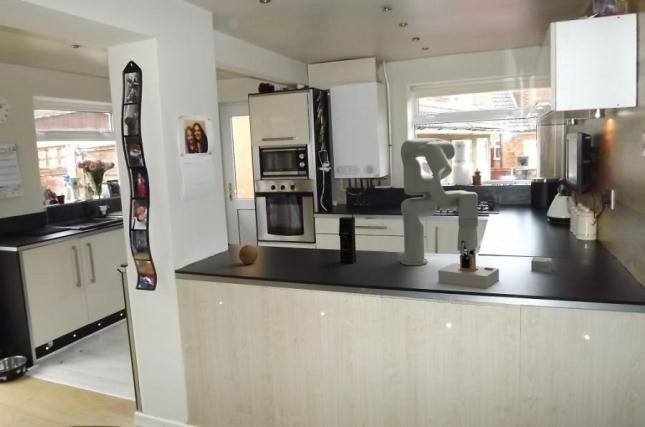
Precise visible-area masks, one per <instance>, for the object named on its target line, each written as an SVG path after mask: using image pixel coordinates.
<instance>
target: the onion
mask: <svg viewBox="0 0 645 427" xmlns="http://www.w3.org/2000/svg"><path fill="white" fill-rule="evenodd" d="M258 256H259V253H258V250H257V248H256V247H255V246H254V245H252V244H251V245H250V244H245V245H244V246H242V247H240V250H239V253H238V257H239V260H240V261H241V263H243V264H245V265H251V264H253V263H255V262H256V261H257V259H258Z"/></svg>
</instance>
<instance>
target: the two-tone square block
mask: <svg viewBox="0 0 645 427" xmlns="http://www.w3.org/2000/svg"><path fill="white" fill-rule="evenodd" d="M466 255H467V253H466ZM476 255H477V254H476V253H475V254H469V259H470V268H469V269H468V268H462V258H461V254H460V255H459V264H460V270H462V271H470V272H475V271H476V266H477V264H476V263H477V259H476V258H477V256H476Z"/></svg>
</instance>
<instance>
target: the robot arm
mask: <svg viewBox="0 0 645 427" xmlns="http://www.w3.org/2000/svg"><path fill="white" fill-rule="evenodd" d="M455 148H456V147H455V146H454V144H453V143H452V142H451V141H449V140H445V139H441V138H436V137H434V138H433V137H432V138H431V137H430V138H429V137H422V138H410V139H408V140H405V141H404V142H403V143H402V144H401V148H400V158H401V161H402V165H403V172H402V173H403V189H404V193H405V194H406V195H409V196H419V195H422V196H423V197H422V196H421V197H420V196H419V197H410V198H409V197H408V198H406V199H404V200H403V201H402V202H401V205H400V210H401V215H402V222H403V223H402V224H403V246H404V248H403V249H404V251H403V252H404V253H403V252H398V253H397V258H402V259H401V264H402V265H406V266H423V265H426V264H428V263H429V260H428V259H426V258H425V227H424V224H423V222H422V221H421V219H420V218H423V217H433V215H435V214H436V213H437V210H438V208H439V209H440V210H443V211H447V210H454V209H455V210H458V211H457V212H458V214H457V215H458V218H457V220H458V232H457V251H458V252H459V254H460V255H461V258H462V268H468V269H469V268H470V259H469V254H476V249H477V248H478V228H477V227H478V226H479V209H478V208H479V203H478V202H479V200H478V197H479V196H478V193H476V192H474V191H466V190H461V189H459V190H447V191H446V190H444V187H443V185H442V180H443V179H445V178H447V177H448V176H450V175H451V174H452V171H453V166H452V165H451V163H450V161H451V160H452V159H453V158H454V157H455V155H456V149H455ZM421 157H423V158H424V159H425V161H426V163H427V165H428V167H429V169H430V172H431V174H429V173H428V174H423V173H422V170H423V169H422V164H421V162H420V160H419V159H418V158H421ZM449 160H450V161H449ZM466 254H467V255H466Z"/></svg>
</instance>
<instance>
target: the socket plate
mask: <svg viewBox="0 0 645 427" xmlns="http://www.w3.org/2000/svg"><path fill="white" fill-rule="evenodd" d="M437 273H438V274H437V276H438V283H442V284H448V285H456V286H457V285H458V286H463V287H472V288H478V289H487V290H488V288H490V287H491V286H493V285H495V284H496V283H497V282H499V281H500V269H499V268H497V267H496V268H495V267H489V266H479V265H476V271H475V272H470V271H462V270H460V263H459V264H458V263H453V262H452V263H450V264H448V265H447V266H444V267H442V268H440V269H438V270H437Z"/></svg>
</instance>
